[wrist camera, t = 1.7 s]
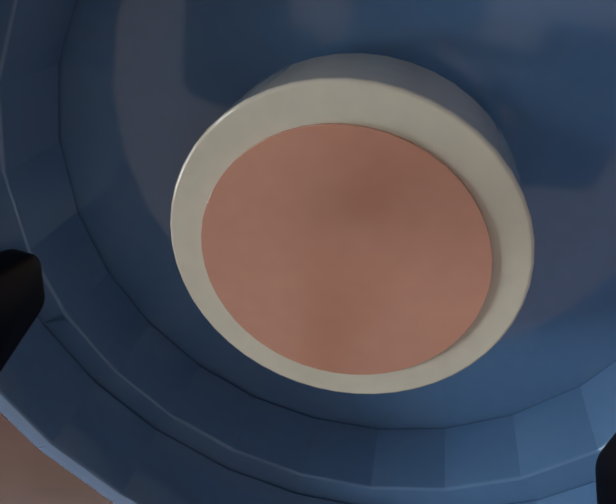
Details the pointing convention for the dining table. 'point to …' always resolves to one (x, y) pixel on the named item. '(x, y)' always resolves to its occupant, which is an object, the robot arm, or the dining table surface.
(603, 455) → the robot arm
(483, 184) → the cream dish
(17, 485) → the dining table surface
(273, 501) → the blue bowl
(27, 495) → the dining table surface
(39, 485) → the dining table surface
